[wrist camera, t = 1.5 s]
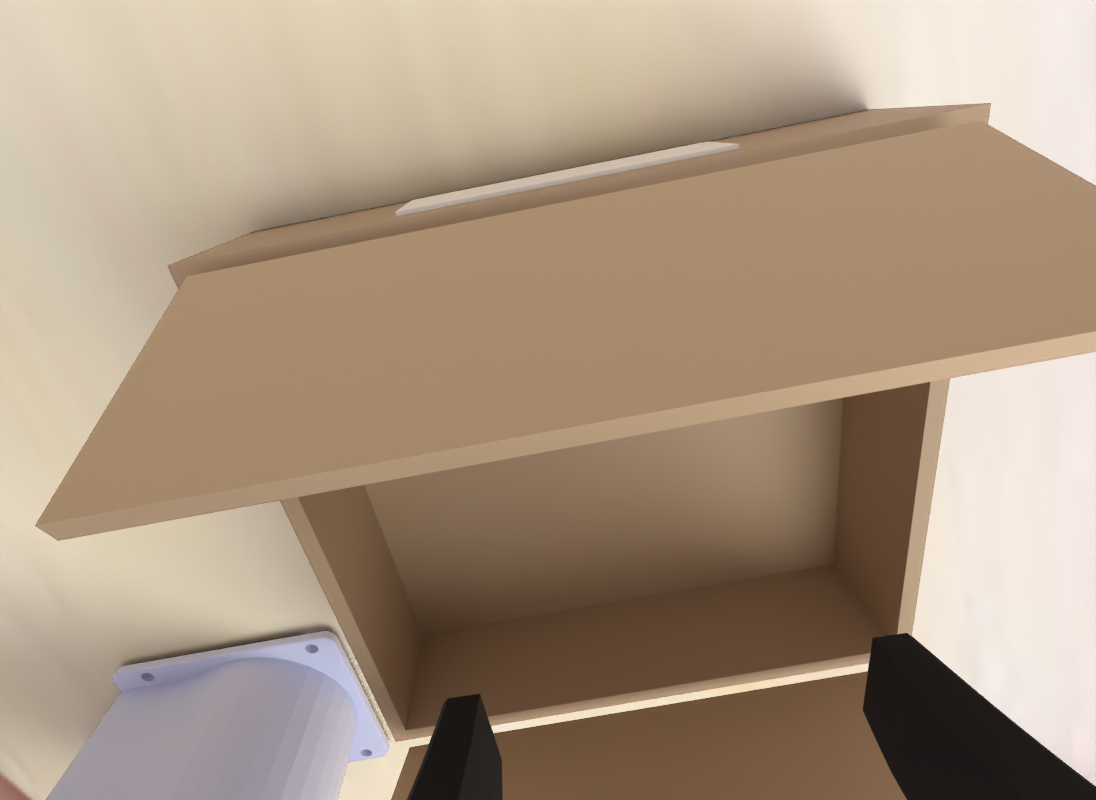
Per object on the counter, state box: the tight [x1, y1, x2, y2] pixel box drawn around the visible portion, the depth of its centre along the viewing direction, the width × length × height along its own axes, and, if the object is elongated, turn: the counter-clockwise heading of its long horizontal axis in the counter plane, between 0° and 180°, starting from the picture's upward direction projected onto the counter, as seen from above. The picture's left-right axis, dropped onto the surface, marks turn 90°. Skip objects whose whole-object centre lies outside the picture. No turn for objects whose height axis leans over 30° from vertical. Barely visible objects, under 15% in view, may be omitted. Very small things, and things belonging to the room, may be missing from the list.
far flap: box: [391, 672, 907, 800], centre depth 16 cm, size 16×6×1 cm
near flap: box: [35, 120, 1096, 541], centre depth 10 cm, size 16×6×1 cm
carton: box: [168, 103, 991, 742], centre depth 18 cm, size 18×17×4 cm
